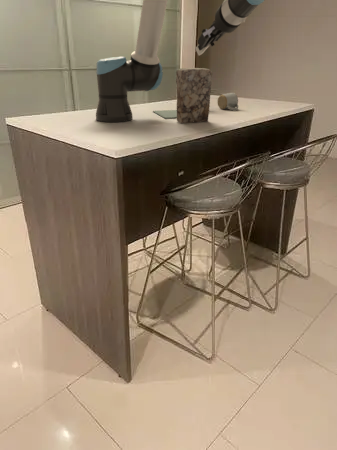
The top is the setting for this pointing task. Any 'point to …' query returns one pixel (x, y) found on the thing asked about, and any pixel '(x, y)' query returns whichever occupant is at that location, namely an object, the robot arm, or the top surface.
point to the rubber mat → (167, 114)
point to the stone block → (193, 94)
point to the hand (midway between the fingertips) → (198, 51)
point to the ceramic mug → (228, 101)
